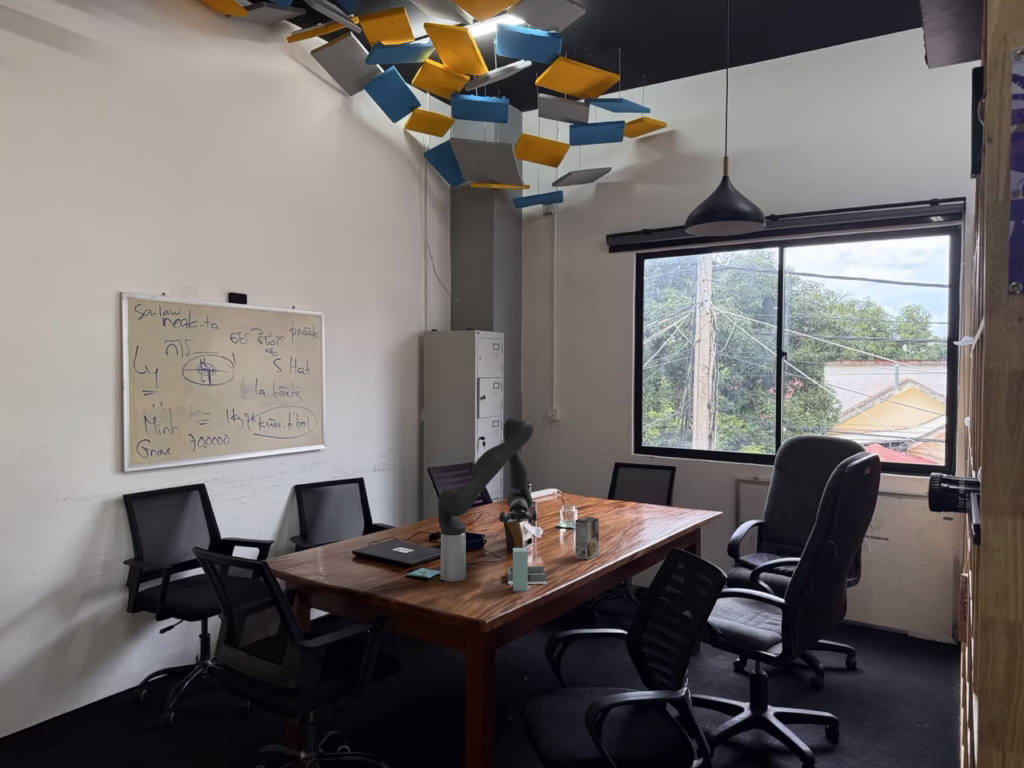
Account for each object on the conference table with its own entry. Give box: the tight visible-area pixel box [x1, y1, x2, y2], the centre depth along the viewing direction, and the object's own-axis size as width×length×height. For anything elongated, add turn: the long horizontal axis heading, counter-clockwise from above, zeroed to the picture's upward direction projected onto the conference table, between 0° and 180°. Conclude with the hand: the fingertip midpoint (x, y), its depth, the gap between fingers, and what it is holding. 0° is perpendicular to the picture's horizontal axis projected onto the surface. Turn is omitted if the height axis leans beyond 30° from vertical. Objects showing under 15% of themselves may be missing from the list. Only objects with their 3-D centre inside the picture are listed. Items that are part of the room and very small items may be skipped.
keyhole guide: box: [506, 565, 548, 586], centre depth 249 cm, size 14×15×3 cm
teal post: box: [512, 547, 529, 592], centre depth 236 cm, size 5×5×14 cm
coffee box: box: [574, 516, 600, 561], centre depth 279 cm, size 9×6×16 cm
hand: (517, 521), depth 247 cm, fingers open, 8 cm apart
